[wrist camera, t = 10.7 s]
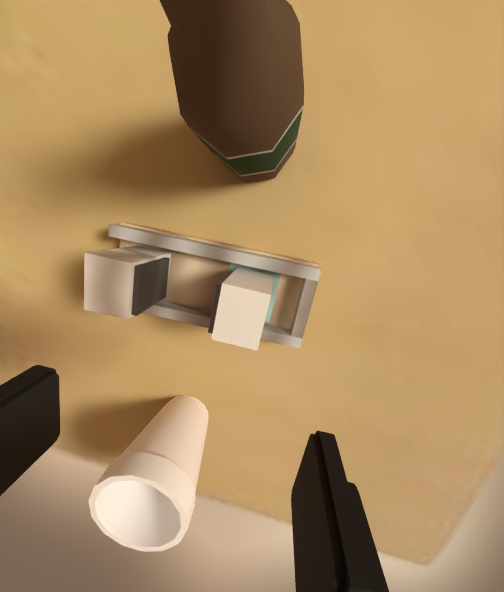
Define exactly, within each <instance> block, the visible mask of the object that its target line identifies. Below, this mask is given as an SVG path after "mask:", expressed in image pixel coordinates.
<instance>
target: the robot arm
mask: <svg viewBox="0 0 504 592" xmlns="http://www.w3.org/2000/svg"><path fill="white" fill-rule="evenodd" d="M59 434H60V401H59V375H58V374H56V370H55V369H53V368H49V367H45V366H40V365H35V366H33V367H31V368H29V369H28V370H26V371H24V372H23V373H21V374H19V375H17V376H16V377H14V378H12V379H11V380H9V381H7V382H5V383H4V384H2V385H0V496H1V495H2V493H4V492H5V491H6V490H7V489H8V488H9V487H10V486H11V485H12V484H13V483H14V482H15V481H16V480H17V479H18V478H19V477H20V476H21V475H22V474H23V473H24V472H25V471H26V470H27V469H28V468H29V467H30V466H31V465H32V464H33V463H34V462H35V461H36V460H37V459H38V458H39V457H40V456H41V455H43V454H44V453H45V452H46V451H47V450H48V449H49V448H50V447H51V446H52V445H53V444H54V443H55V441H56V440H57V439H58V437H59ZM291 505H292V525H293V544H294V561H295V562H294V563H295V583H296V592H389V590H388V587H387V583H386V580H385V577H384V574H383V570H382V567H381V564H380V560H379V557H378V554H377V551H376V547H375V544H374V541H373V537H372V534H371V531H370V528H369V524H368V521H367V518H366V515H365V511H364V508H363V505H362V501H361V498H360V495H359V492H358V489H357V487H356V486H355V484H353V483H350V482H347V479H346V475H345V471H344V468H343V464H342V460H341V457H340V453H339V449H338V446H337V442H336V438H335V436H334V435H333V434H330V433H326V432H321V431H317V432H316V433H315V434H311V435H310V437H309V440H308V443H307V446H306V449H305V452H304V455H303V458H302V461H301V464H300V467H299V470H298V473H297V476H296V479H295V483H294V486H293V489H292V495H291Z"/></svg>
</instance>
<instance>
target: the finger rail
mask: <svg viewBox="0 0 504 592" xmlns="http://www.w3.org/2000/svg"><path fill="white" fill-rule="evenodd" d="M109 236H110V237H114V238H119V239H120V247H119V248H115V249H108V250H101V251H94V252H87V253H85V258H84V310H88V311H92V312H97V313H101V314H105V315H110V316H114V317H118V318H123V319H127V320H128V319H130V318H131V317H133V316H134V315H136V316H137V315H139V314H140V313H146V314H150V315H154V316H159V317H163V318H168V319H172V320H176V321H181V322H185V323H190V324H194V325H198V326H203V327H207V328H209V324H210V318H211V313H212V308H213V302H214V297H215V291H216V286H217V283H218V282H219V281H220V280H222V279H223V278H224V277H225V276H226V275H227V274H228V273H229V272H230V271H232V272H234V271H235V270H236V269H237V268H238V267H239V268H243V269H247V270H251V271H256V272H260V273H264V274H268V275H272V276H273V285H272V294H271V299H270V303H269V307H268V311H267V314H266V318H265V322H264V326H263V330H262V334H261V338H260V340H264V341H269V342H273V343H278V344H282V345H286V346H291V347H295V348H300V345H301V341H302V338H303V334H304V330H305V327H306V323H307V320H308V316H309V312H310V309H311V305H312V302H313V298H314V294H315V291H316V287H317V284H318V280H319V277H320V273H321V269H320V268H319V267H318V266H319V264H318V263H316V262H311V261H307V260H302V259H297V258H293V257H288V256H283V255H278V254H274V253H269V252H264V251H260V250H255V249H250V248H245V247H241V246H236V245H231V244H226V243H222V242H217V241H212V240H208V239H203V238H198V237H193V236H189V235H184V234H179V233H174V232H170V231H165V230H160V229H156V228H151V227H146V226H141V225H137V224H132V223H121V224H109Z"/></svg>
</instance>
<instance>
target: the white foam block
mask: <svg viewBox="0 0 504 592" xmlns="http://www.w3.org/2000/svg"><path fill="white" fill-rule="evenodd" d="M272 285H273V276H272V275H268V274H264V273H260V272H256V271H251V270H247V269H243V268H239V267H238V268H237V269H236V270H235V271H234V272H232V271H230V272H229V273H228V274H227V275H226V276H225V277H224V278H223V279H222V280H220V281H219V282H218V283H217V286H216V291H215V297H214V302H213V308H212V313H211V318H210V324H209V329H208V332H209V333H213V334H212V340H216V341H220V342H225V343H229V344H233V345H237V346H241V347H245V348H249V349H253V350H258V346H259V342H260V338H261V334H262V330H263V326H264V322H265V318H266V314H267V311H268V307H269V303H270V299H271V294H272Z"/></svg>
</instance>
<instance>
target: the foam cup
mask: <svg viewBox="0 0 504 592" xmlns="http://www.w3.org/2000/svg"><path fill="white" fill-rule="evenodd" d="M207 426H208V411H207V409H206V408H205V406H204V404H203V403H201V402H200V401H199V400H197V399H196V398H194V397H190V396H187V395H182V396H176V397H174V398H173V399H171V400H170V401H168V403H167V404H165V406H164V407H163V408H162V409H161V410H160V411H159V412H158V413H157V415H156V416H155V417H154V418H153V419H152V420H151V421H150V423H149V424H148V425H147V426H146V427H145V428H144V429H143V430H142V432H141V433H140V434H139V435H138V436H137V437H136V438H135V439H134V441H133V442H132V443H131V444H130V445H129V446H128V447H127V448H126V450H125V451H124V452H123V453H122V454H121V455H120V456H119V457H118V459H116V460H115V461H113V462H112V463H111V464H110V465H109V467H108V468H107V469H106V471H105V472H104V474H103V475H102V477H101V478H100V479H99V481H98V482H97V484H96V485H95V487H94V489H93V491H92V494H91V496H90V498H89V506H90V511H91V515H92V518H93V520H94V521H95V522H96V523H97V525H98V526H99V528H100V529H101V530H102V531H103V533H104V534H106V535H107V536H109V537H110V538H112V539H113V540H115V541H116V542H118V543H120V544H121V545H123V546H126V547H130V548H133V549H136V550H139V551H163V550H166V549H168V548H170V547H172V546H174V545H177V544H179V542H180V541H181V539H182V538H183V536H184V534H185V533H186V531H187V529H188V526H189V523H190V519H191V516H192V513H193V509H194V506H195V492H196V486H197V481H198V475H199V470H200V464H201V459H202V454H203V448H204V443H205V437H206V432H207Z"/></svg>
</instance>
